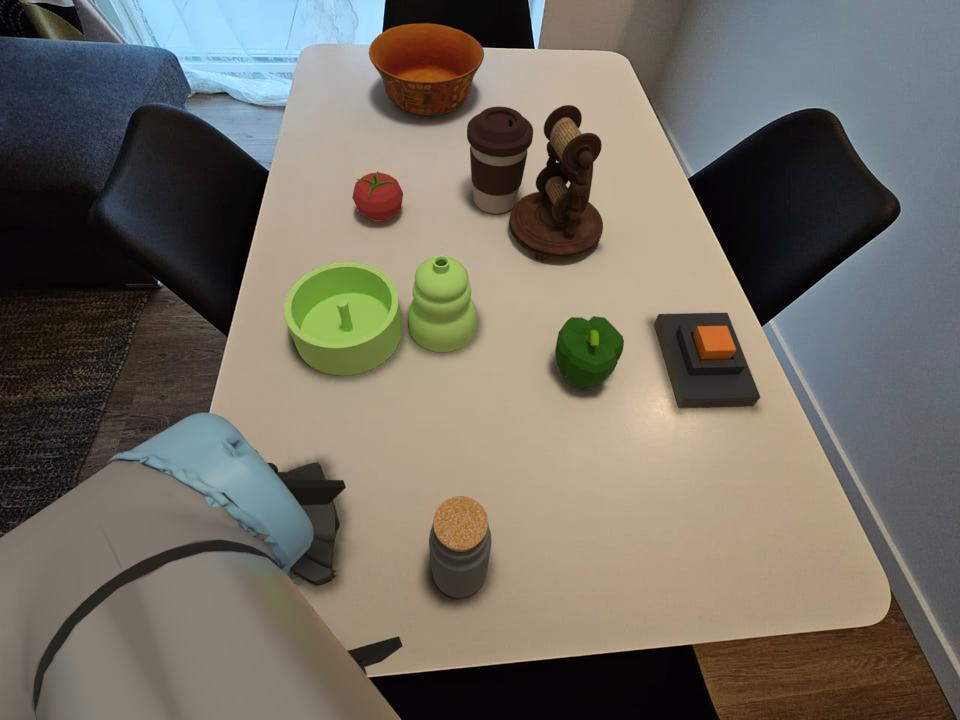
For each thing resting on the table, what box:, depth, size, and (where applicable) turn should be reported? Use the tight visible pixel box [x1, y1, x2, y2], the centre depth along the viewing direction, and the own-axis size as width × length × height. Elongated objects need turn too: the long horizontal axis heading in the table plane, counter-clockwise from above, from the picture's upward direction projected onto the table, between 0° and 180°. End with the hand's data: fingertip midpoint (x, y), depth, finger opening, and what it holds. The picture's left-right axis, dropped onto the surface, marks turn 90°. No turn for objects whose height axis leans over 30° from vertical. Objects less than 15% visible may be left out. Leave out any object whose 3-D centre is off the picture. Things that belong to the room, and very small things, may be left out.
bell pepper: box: [554, 315, 625, 391], centre depth 72 cm, size 8×8×10 cm
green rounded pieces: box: [283, 254, 478, 377], centre depth 74 cm, size 25×14×13 cm, turn 97°
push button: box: [654, 312, 761, 409], centre depth 76 cm, size 14×10×4 cm
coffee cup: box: [466, 105, 534, 215], centre depth 90 cm, size 10×10×15 cm
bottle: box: [428, 495, 492, 599], centre depth 55 cm, size 6×6×15 cm
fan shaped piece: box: [285, 461, 340, 585], centre depth 62 cm, size 8×14×2 cm, turn 23°
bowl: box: [368, 22, 485, 116], centre depth 108 cm, size 21×21×10 cm
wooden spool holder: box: [508, 104, 604, 260], centre depth 83 cm, size 15×15×20 cm
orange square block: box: [692, 326, 736, 360], centre depth 74 cm, size 4×4×2 cm
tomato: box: [352, 170, 404, 222], centre depth 90 cm, size 8×8×8 cm
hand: (361, 564), depth 46 cm, fingers open, 13 cm apart
